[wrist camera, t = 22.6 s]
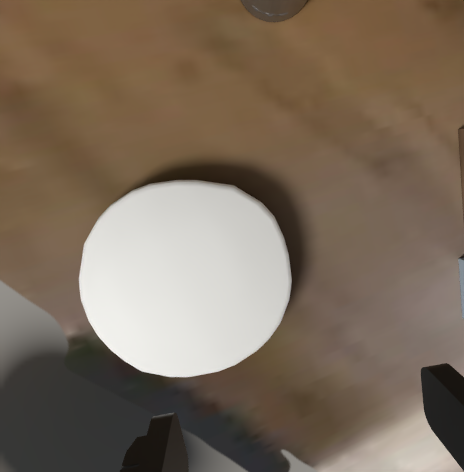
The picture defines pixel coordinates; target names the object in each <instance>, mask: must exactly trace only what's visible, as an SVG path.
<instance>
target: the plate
mask: <svg viewBox="0 0 464 472" xmlns="http://www.w3.org/2000/svg"><path fill="white" fill-rule="evenodd" d="M291 283H292V278H291V269H290V261H289V253H288V250H287V246H286V243H285V239H284V236H283V234H282V232H281V230H280V227H279V225H278V223H277V221H276V219H275V217H274V215H273V214H272V213H271V212H270V211H269V210H268V209H267V208H266V206H265V205H264V204H263V203H262V202H260V201H259V200H257V199H255V198H254V197H252V196H250V195H249V194H247V193H245V192H244V191H242V190H241V189H239V188H237V187H236V186H234V185H228V184H221V183H214V182H207V181H200V180H174V181H166V182H159V183H152V184H148V185H145V186H143V187H140V188H137V189H135V190H132V191H131V192H129V193H128V194H126V195H125V196H123V197H122V198H120V199H119V200H117V201H116V202H114V203H113V204H111V205H110V206H109V207H108V208H107V210H106V211H105V212H104V213H103V214H102V215H101V216H100V217H99V218H98V220H97V222H96V224H95V225H94V227H93V229H92V231H91V232H90V234H89V236H88V238H87V240H86V241H85V243H84V248H83V255H82V262H81V269H80V276H79V286H80V296H81V301H82V304H83V306H84V309H85V312H86V315H87V317H88V320H89V322H90V324H91V325H92V327H93V329H94V330H95V332H96V334H97V335H98V337H99V338H100V339H101V340H102V341H103V342H104V343H105V344H106V345H107V346H108V347H109V348H110V350H111V351H113V352H114V353H115V354H116V355H118V356H119V357H120V358H121V359H123V360H124V361H125V362H127V363H129V364H130V365H132V366H134V367H135V368H137V369H139V370H140V371H142V372H148V373H153V374H158V375H163V376H168V377H191V376H197V375H202V374H207V373H213V372H218V371H221V370H223V369H226V368H228V367H231V366H234V365H236V364H237V363H239V362H240V361H242V360H243V359H245V358H246V357H248V356H250V355H251V354H253V353H254V352H256V351H257V350H258V349H259V348H260V347H261V346H262V345H263V344H264V343H265V342H266V341H267V340H268V339H269V338H270V337H271V336H272V334H273V333H274V331H275V330H276V328H277V327H278V325H279V324H280V323H281V320H282V318H283V315H284V312H285V310H286V307H287V304H288V302H289V299H290V291H291Z"/></svg>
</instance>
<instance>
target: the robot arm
mask: <svg viewBox="0 0 464 472" xmlns="http://www.w3.org/2000/svg"><path fill="white" fill-rule="evenodd" d="M241 2H242V3H243V5H244V6H245V8H246V9H247V10H248V11H249V12H250V13H251V14H252V15H254V16H255V17H257V18H259V19H261V20H264V21H267V22H279V21H284V20H286V19H289V18H291V17H293V16H294V15H295V14H297V13H298V12H299V11H300V10H301V9H302V8H303V6H304V5H305V3H306V2H307V0H241ZM421 382H422V393H423V404H424V412H425V416H426V418H427V421H428V423H429V425H430V427H431V429H432V430H433V432H434V433H435V434H436V436H437V437H438V438H439V440H440V441H441V442H442V443H443V445H444V446H445V447H446V449H447V450H448V451H449V452H450V454H451V455H452V456H453V458H454V459H455V460H456V461H457V463H458V464H459V465H460V467H461V468H462V469H463V470H464V377H463V376H462V375H460V374H459V373H458V372H457V371H456V370H455V369H454V368H453V367H452V366H450V365H449V364H447V363H445V364H440V365H434V366H429V367H423V368H422V369H421ZM120 472H188V456H187V451H186V447H185V443H184V439H183V435H182V431H181V427H180V424H179V420H178V416H177V414H176V413H171V414H165V415H160V416H154V417H152V419H151V422H150V426H149V429H148V433H147V436H142V437H137V438H136V440H135V441H134V442H133V444H132V445H131V446H130V448H129V449H128V450H127V452H126V454H125V457H124V460H123V463H122V469H121V470H120Z"/></svg>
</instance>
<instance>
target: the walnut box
mask: <svg viewBox="0 0 464 472" xmlns="http://www.w3.org/2000/svg"><path fill="white" fill-rule="evenodd" d="M458 134H459V150H460V167H461V184H462V201H463V218H464V128H463V129H458Z"/></svg>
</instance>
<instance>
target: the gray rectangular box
mask: <svg viewBox="0 0 464 472" xmlns="http://www.w3.org/2000/svg"><path fill="white" fill-rule="evenodd" d="M459 273H460V289H461V305H462V318H464V258H459Z"/></svg>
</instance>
